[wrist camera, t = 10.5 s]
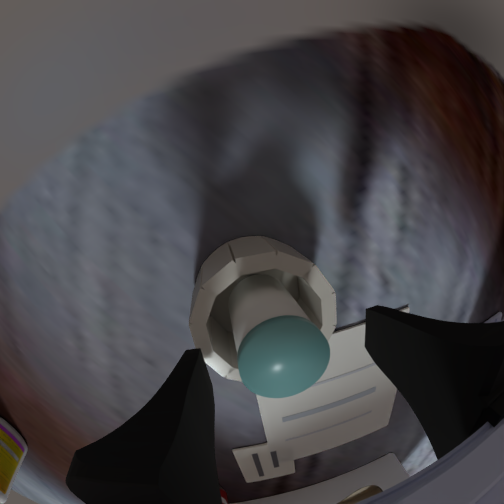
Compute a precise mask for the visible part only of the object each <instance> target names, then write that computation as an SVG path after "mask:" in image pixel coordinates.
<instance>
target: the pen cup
mask: <svg viewBox="0 0 504 504" xmlns="http://www.w3.org/2000/svg"><path fill="white" fill-rule="evenodd" d="M253 274H263V275H269V276H272V277H274V278H276V279H278V280H279V281H280V282H281V283H282V284H283V285H284V286H285V288H286V289H287V290H288V292H289V293H290V294H291V296H292V297H293V298H294V299H295V301H296V302H297V303H298V305H299V306H300V307H301V309H302V310H303V311H304V312H305V314H306V315H307V316H308V318H309V319H310V320H311V322H313V323H314V324H315V325H316V326H317V327H318V328H319V330H320V331H321V332H322V333H323V335H324V336H325V337H326V339H327V341H329V339H330V337H331V335H332V333H333V331H334V329H335V327H336V326H335V324H337V320H336V293H335V292H334V289H333V288H332V286H331V285H330V284H329V282H328V281H327V280H326V278H325V277H324V276H323V274H322V273H321V272H320V270H319V269H318V267H317V266H316V265H315V264H314V263H312V262H311V261H310V260H308V259H307V258H306V257H304V256H303V255H302V254H300V253H299V252H298V251H296V250H295V249H294V248H292V247H291V246H289V245H286V244H284V243H282V242H280V241H277V240H275V239H272V238H269V237H264V236H245V237H240V238H236V239H234V240H231V241H229V242H227V243H225V244H223V245H221V246H220V247H219V248H217V249H216V250H215V251H214V252H213V253H212V254H210V255H209V257H208V258H207V259H206V260H205V261H204V262H203V264H202V266H201V269H200V271H199V273H198V276H197V280H196V284H195V287H194V290H193V295H192V302H191V309H190V317H189V327H190V331H191V334H192V337H193V341H194V344H195V347H196V349H197V348H201V351H202V354H203V358H204V361H205V363H207V364H208V365H209V366H210V367H211V368H213V369H214V370H215V371H216V372H218V373H219V374H220V375H221V376H222V377H226V379H231V380H236V381H241V382H242V380H241V377H240V374H239V369H238V363H237V350H236V345H235V340H234V335H233V329H232V324H231V318H230V313H229V306H228V303H229V297H230V294H231V292H232V290H233V289H234V287H235V286H236V284H237V283H238V282H239V281H240V280H242V279H243V278H245V277H247V276H249V275H253Z"/></svg>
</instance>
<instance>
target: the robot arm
mask: <svg viewBox="0 0 504 504" xmlns="http://www.w3.org/2000/svg"><path fill="white" fill-rule="evenodd" d="M501 318H502V312H498V313H497V314H496V315H494V316H493V317H491V318H490V319H489V320H487V321H486V322H484V323H456V322H447V321H441V320H435V319H431V318H426V317H422V316H418V315H414V314H410V313H406V312H403V311H399V310H396V309H392V308H388V307H384V306H378V305H377V306H374V307H371V308H368V309H366V325H365V346H364V347H365V348H366V350H367V352H368V353H369V355H370V357H371V358H372V360H373V361H374V363H375V364H376V365H377V366H378V367H379V368H380V370H381V371H382V372H383V373H384V374H385V375H386V377H387V378H388V379H389V380H390V381H391V382H392V383H393V384H394V386H395V387H396V388H397V389H398V390H399V391H400V392H401V394H402V395H403V396H404V398H405V399H406V400H407V402H408V403H409V405H410V406H411V408H412V410H413V411H414V413H415V414H416V416H417V418H418V419H419V421H420V423H421V425H422V426H423V428H424V430H425V432H426V434H427V436H428V438H429V440H430V442H431V445H432V447H433V449H434V452H435V454H436V457H437V459H438V460H437V461H436V462H434V463H433V464H431V465H429V466H428V467H426V468H425V469H423V470H421V471H420V472H418V473H416V474H415V475H413V476H411V477H409V478H408V479H406V480H404V481H402V482H400V483H398V484H396V485H394V486H393V487H391V488H389V489H386V490H384V491H382V492H380V493H378V494H376V495H374V496H371V497H369V498H367V499H365V500H362V501H360V502H357V503H355V504H504V321H502V320H501ZM214 421H215V404H214V395H213V387H212V383H211V380H210V377H209V374H208V370H207V367H206V364H205V361H204V358H203V354H202V351H201V348H197V349H191V350H186V351H185V352H184V354H183V355H182V357H181V359H180V360H179V362H178V363H177V365H176V366H175V368H174V369H173V371H172V372H171V374H170V375H169V377H168V378H167V380H166V381H165V382H164V384H163V385H162V386H161V388H160V389H159V390H158V391H157V393H156V394H155V395H154V396H153V397H152V399H151V400H150V401H149V402H148V403H147V404H146V405H145V406H144V407H143V408H142V409H141V410H140V411H139V412H137V413H136V414H135V415H134V416H133V417H131V418H130V419H129V420H128V421H126V422H125V423H124V424H123V425H121V426H120V427H119V428H117V429H116V430H114V431H113V432H111V433H110V434H108V435H106V436H105V437H103V438H101V439H99V440H98V441H96V442H94V443H92V444H89V445H87V446H85V447H83V448H81V449H79V450H76V452H75V454H74V457H73V460H72V462H71V465H70V468H69V471H68V474H67V477H66V484H67V486H68V488H69V489H70V491H71V492H73V493H74V494H75V495H76V496H77V497H78V498H79V499H81V500H82V501H83V502H84V503H86V504H222V499H221V493H220V488H219V482H218V476H217V469H216V461H215V450H214Z"/></svg>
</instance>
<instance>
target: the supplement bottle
mask: <svg viewBox="0 0 504 504" xmlns="http://www.w3.org/2000/svg"><path fill="white" fill-rule="evenodd" d="M26 453H27V445H26V442H25V441H24V439H23V438H22V436H21V435H20V434H19V433H18V432H17V431H16V430H15V429H14V428H13V427H12V426H11V425H10V424H9V423H8V422H6V421H5V420H4V419H3V418H1V417H0V503H1V504H3V503H5V502H6V500H7V497H8V495H9V492H10V490H11V487H12V485H13V482H14V480H15V477H16V475H17V473H18V470H19V468H20V466H21V464H22V461H23V459H24V457H25V455H26Z"/></svg>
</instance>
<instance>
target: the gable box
mask: <svg viewBox="0 0 504 504" xmlns="http://www.w3.org/2000/svg"><path fill="white" fill-rule="evenodd" d="M409 477H410V476H409V474H408V473H407V471H406V470H405V469H404V467H403V466H402V464H401V463H400V461H399V460H398V458H397V457H396V456H395V454H394V453H392V452H391V453H389V454H387V455H385V456H383V457H381V458H379V459H377V460H374V461H372V462H370V463H368V464H366V465H364V466H361V467H359V468H357V469H354V470H352V471H350V472H347V473H345V474H342V475H340V476H337V477H334V478H332V479H329V480H326V481H323V482H320V483H317V484H314V485H311V486H308V487H304V488H301V489H297V490H294V491H290V492H286V493H282V494H278V495H274V496H269V497H265V498H260V499H255V500H249V501H243V502H237V503H229V504H355V503H357V502H360V501H362V500H365V499H367V498H369V497H371V496H374V495H376V494H378V493H380V492H382V491H384V490H386V489H389V488H391V487H393V486H394V485H396V484H398V483H400V482H402V481H404V480H406V479H408V478H409Z"/></svg>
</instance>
